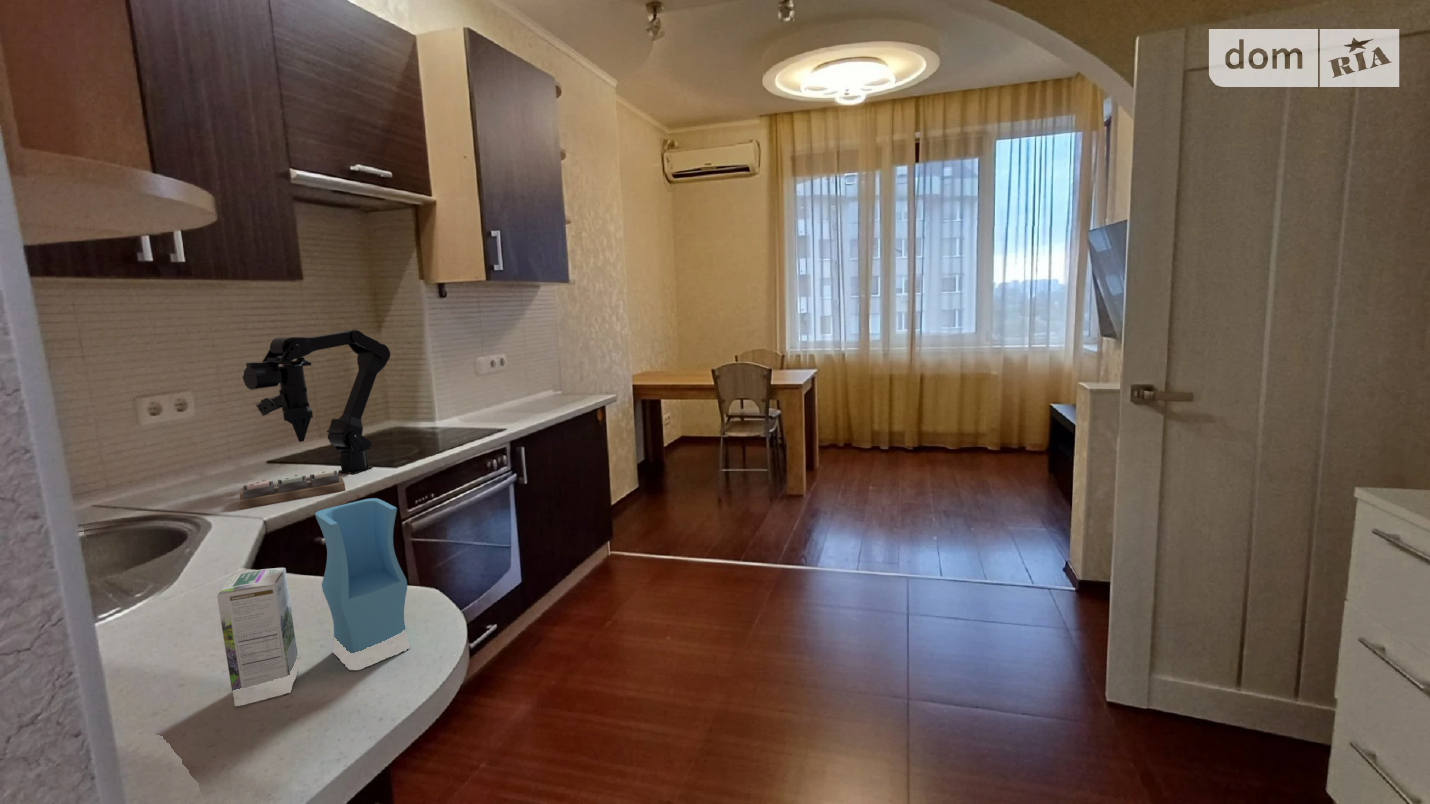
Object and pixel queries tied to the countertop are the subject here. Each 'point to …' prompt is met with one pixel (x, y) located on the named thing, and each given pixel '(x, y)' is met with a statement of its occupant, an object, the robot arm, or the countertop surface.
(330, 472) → the tile one
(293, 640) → the syrup box
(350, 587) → the blue tall chair-shaped block
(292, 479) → the tile two
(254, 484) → the tile three
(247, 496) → the digit board
